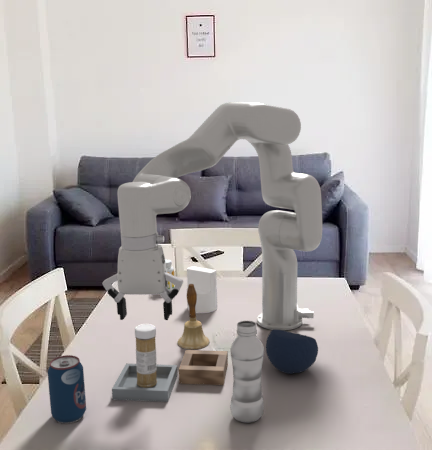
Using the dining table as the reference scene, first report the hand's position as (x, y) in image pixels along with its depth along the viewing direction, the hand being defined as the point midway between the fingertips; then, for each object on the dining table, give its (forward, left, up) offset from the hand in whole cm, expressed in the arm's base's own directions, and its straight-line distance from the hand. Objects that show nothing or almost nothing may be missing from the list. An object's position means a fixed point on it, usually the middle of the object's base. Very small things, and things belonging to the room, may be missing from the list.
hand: (145, 317), depth 130 cm
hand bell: (-7, -23, -16) cm, 29 cm away
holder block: (-12, -6, -16) cm, 21 cm away
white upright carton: (-6, -48, -16) cm, 51 cm away
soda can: (+13, +14, -16) cm, 25 cm away
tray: (0, +1, -16) cm, 16 cm away
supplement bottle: (+8, -64, -16) cm, 67 cm away
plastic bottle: (-23, +12, -16) cm, 30 cm away
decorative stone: (-32, -9, -16) cm, 37 cm away
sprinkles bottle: (0, 0, -16) cm, 16 cm away
